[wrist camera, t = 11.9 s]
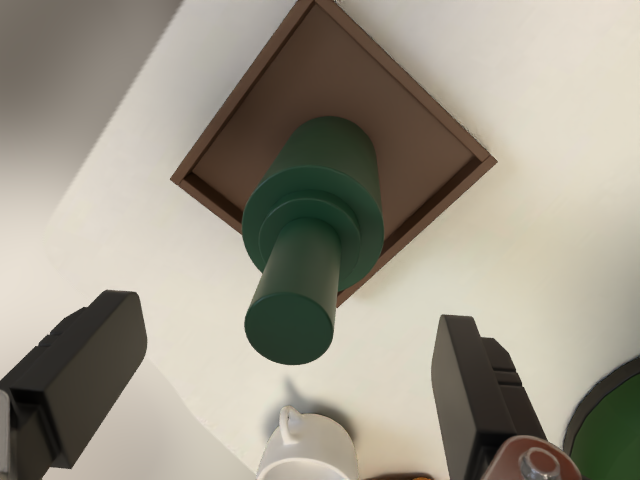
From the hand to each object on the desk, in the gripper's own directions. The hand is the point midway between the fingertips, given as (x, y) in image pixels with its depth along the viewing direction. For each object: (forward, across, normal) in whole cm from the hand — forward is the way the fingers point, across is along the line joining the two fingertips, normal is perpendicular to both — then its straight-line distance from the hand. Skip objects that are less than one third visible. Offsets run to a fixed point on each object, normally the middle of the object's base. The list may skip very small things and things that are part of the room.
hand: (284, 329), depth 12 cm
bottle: (+16, 0, 0) cm, 16 cm away
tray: (+16, 0, 0) cm, 17 cm away
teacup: (+16, +1, +23) cm, 28 cm away
